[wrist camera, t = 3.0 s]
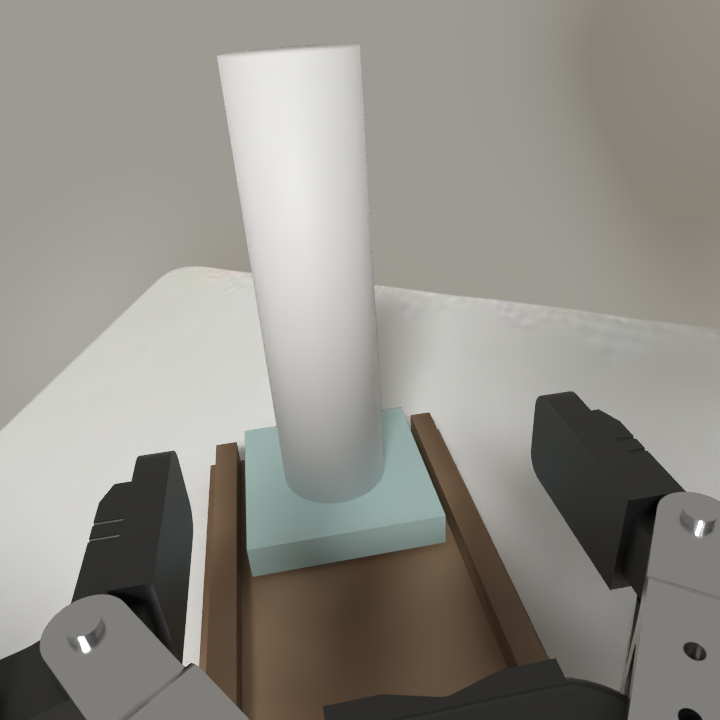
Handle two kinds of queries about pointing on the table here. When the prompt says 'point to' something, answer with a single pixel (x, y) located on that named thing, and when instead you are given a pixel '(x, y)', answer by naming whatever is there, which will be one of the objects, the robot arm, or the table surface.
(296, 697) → the rail board
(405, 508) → the keeper
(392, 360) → the table surface
